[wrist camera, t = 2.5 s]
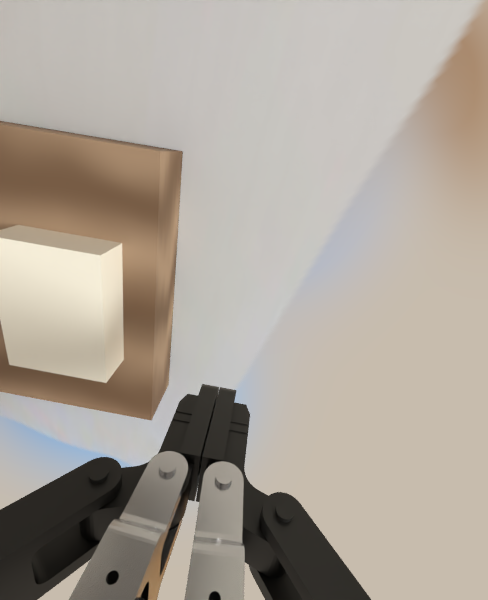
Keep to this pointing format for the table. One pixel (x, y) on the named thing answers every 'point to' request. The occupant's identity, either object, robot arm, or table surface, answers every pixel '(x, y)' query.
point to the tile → (61, 302)
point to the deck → (107, 226)
